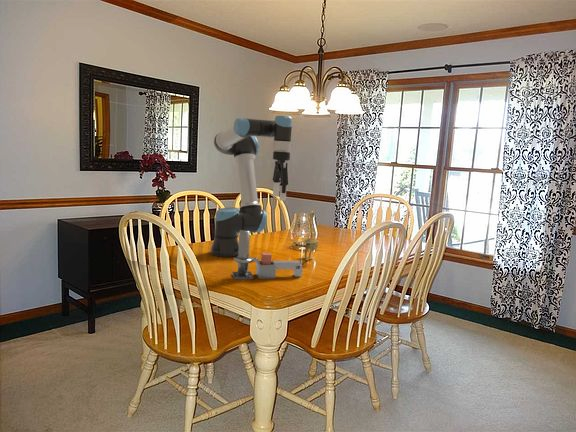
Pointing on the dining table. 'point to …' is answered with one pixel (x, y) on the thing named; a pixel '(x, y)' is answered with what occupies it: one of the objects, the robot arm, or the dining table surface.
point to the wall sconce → (310, 240)
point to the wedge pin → (266, 259)
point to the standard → (243, 257)
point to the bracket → (270, 270)
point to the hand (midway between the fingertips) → (279, 198)
